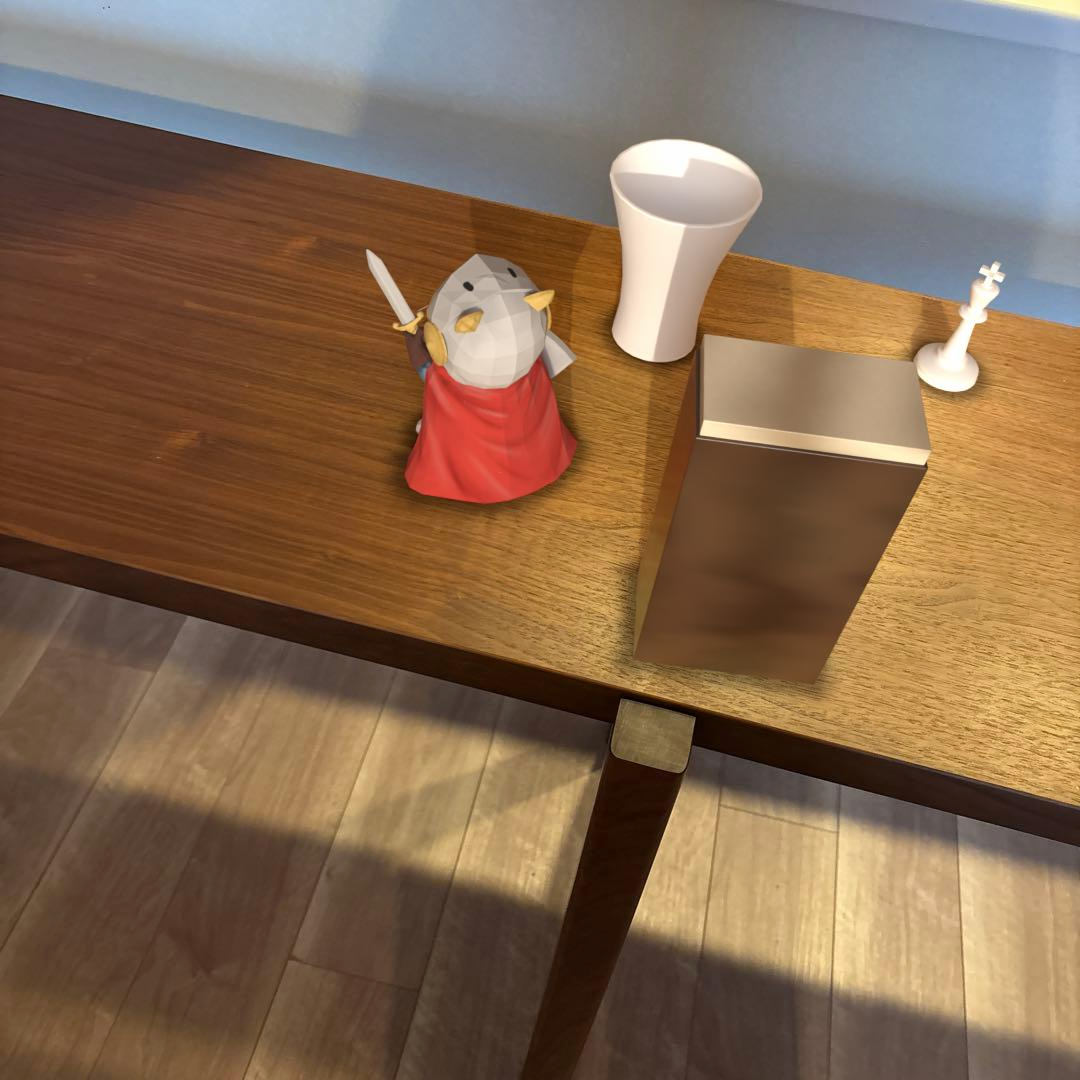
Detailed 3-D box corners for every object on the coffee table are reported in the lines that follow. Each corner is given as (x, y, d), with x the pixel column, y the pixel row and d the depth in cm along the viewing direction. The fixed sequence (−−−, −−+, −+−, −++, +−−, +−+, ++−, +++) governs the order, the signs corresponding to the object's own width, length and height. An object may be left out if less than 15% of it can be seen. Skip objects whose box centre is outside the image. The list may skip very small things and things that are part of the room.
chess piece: (927, 340, 88) (977, 234, 80) (985, 368, 86) (1042, 262, 78) (902, 371, 85) (951, 265, 77) (962, 401, 83) (1018, 295, 76)
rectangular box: (808, 598, 70) (919, 360, 55) (814, 685, 66) (936, 454, 51) (637, 575, 70) (700, 330, 55) (632, 661, 66) (699, 422, 51)
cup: (725, 387, 82) (770, 234, 72) (585, 375, 82) (610, 218, 71) (716, 298, 89) (756, 145, 78) (586, 286, 88) (609, 131, 78)
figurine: (549, 375, 81) (571, 197, 70) (595, 489, 74) (629, 313, 63) (371, 397, 78) (364, 215, 67) (403, 518, 71) (401, 339, 60)
